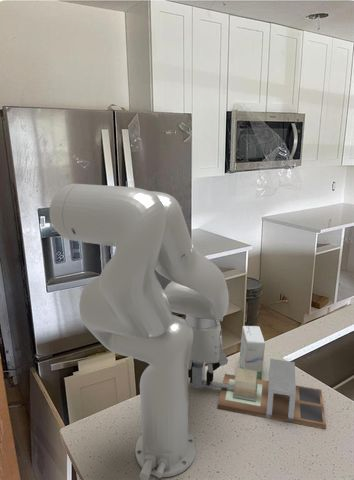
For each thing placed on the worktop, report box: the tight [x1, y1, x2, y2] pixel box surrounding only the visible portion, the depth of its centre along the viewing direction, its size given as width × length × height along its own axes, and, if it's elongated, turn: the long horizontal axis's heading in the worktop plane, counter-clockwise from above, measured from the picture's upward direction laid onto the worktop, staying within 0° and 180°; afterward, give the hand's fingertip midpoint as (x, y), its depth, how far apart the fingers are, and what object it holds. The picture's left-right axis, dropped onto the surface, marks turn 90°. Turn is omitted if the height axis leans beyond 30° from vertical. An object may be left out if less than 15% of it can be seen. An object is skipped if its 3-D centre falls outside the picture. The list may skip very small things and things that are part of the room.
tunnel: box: [266, 358, 297, 423], centre depth 90 cm, size 12×6×8 cm, turn 164°
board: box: [217, 373, 327, 430], centre depth 91 cm, size 12×24×1 cm, turn 74°
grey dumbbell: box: [191, 360, 257, 401], centre depth 93 cm, size 6×16×6 cm, turn 74°
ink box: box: [239, 325, 266, 380], centre depth 101 cm, size 9×5×12 cm, turn 179°
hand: (200, 380), depth 95 cm, fingers closed on grey dumbbell, 3 cm apart
